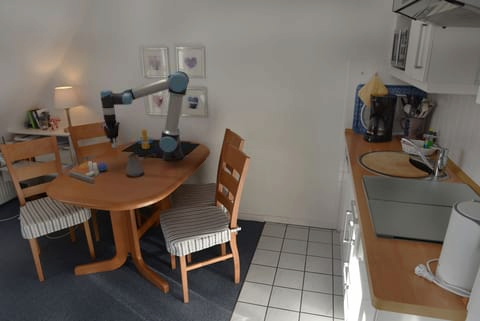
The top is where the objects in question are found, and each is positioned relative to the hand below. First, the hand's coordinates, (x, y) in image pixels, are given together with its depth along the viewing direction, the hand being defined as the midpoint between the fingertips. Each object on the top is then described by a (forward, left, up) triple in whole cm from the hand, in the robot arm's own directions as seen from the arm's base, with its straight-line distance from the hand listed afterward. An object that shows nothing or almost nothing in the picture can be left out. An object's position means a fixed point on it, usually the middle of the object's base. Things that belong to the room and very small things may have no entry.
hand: (114, 147), depth 232 cm
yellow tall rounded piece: (+15, -41, -14) cm, 46 cm away
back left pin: (-2, +18, -14) cm, 23 cm away
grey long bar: (0, +27, -14) cm, 30 cm away
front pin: (0, +15, -13) cm, 20 cm away
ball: (+1, +11, -11) cm, 15 cm away
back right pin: (+3, +18, -14) cm, 23 cm away
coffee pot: (-28, +2, -14) cm, 31 cm away
